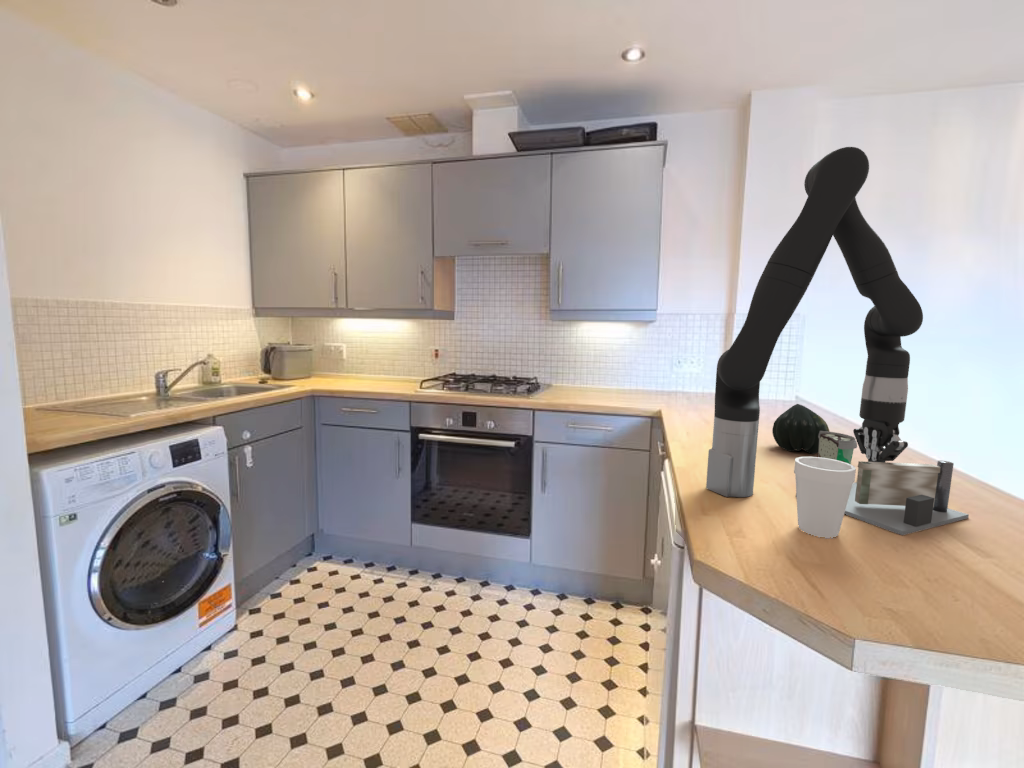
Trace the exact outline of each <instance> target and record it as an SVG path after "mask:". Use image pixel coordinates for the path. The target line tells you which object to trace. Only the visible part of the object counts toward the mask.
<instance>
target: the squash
mask: <svg viewBox="0 0 1024 768" xmlns="http://www.w3.org/2000/svg"><path fill="white" fill-rule="evenodd" d="M820 431H828V432H831V431H830V429H829V425H828V424H827V421H825V419H824V418H822V417H821V416H820V415H819V414H817V413H816V412H815V411H813V410H811V409H809V408H808V407H807V406H805V405H802V404H800V403H796V404H794V405H792V406H791V407H789V408H788V409H787V410H785V411H784V412H783V413H781V414H780V415H778V417H777V418H776V419H775V420H774V421H773V426H772V431H771V432H772V436H773V439H774V441H775V442H776V444H777V445H778V447H780V448H782V449H784V450H786V451H789V452H794V451H797V452H798V451H801V450H803V451H805V452H806V453H808V454H811V455H813V454H818V452H819V438H818V436H819V432H820Z"/></svg>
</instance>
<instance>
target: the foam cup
mask: <svg viewBox="0 0 1024 768" xmlns="http://www.w3.org/2000/svg"><path fill="white" fill-rule="evenodd" d="M856 470H857V468H856V466H855V465H853V464H852V463H851V464H849V463H845V462H842V461H838V460H834V459H828V458H821V457H817V456H799V457H795V459H794V470H793V473H794V477H795V497H796V510H797V511H796V512H797V513H796V514H797V526H798V525H799V526H798V527H799V528H800V529H801V530H802V531H804V532H806V533H808V534H807V535H809V534H811V535H810V536H812V535H814V536H813V537H815V536H818V537H817V538H820V537H825V538H824V539H834V538H833V537H836V536H838V537H839V534H840V530H841V527H842V524H843V521H844V520H843V519H844V516H845V514H844V513H845V509H846V506H847V502H848V499H849V495H850V492H851V488H852V484H853V483H856V481H855V480H856V473H857V472H856ZM799 528H798V529H799ZM800 529H799V530H800ZM801 530H800V531H801ZM802 531H801V532H802ZM804 532H803V533H804ZM806 533H805V534H806ZM830 537H831V538H830ZM836 538H837V537H836Z"/></svg>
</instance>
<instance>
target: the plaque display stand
mask: <svg viewBox="0 0 1024 768" xmlns="http://www.w3.org/2000/svg"><path fill="white" fill-rule="evenodd" d="M936 463H937V464H936V466H939V467H941V468H940V473H938V478H937V485H936V493H935V500H934V498H932V497H929V496H925V495H917V496H913V497H908V498H906V506H900V505H879V504H859V503H857V502H855V494H856V485H857V481H855V482H854V483H853V484H852V488H851V492H850V495H849V499H848V502H847V506H846V509H845V513H844V515H845V514H846V515H845V516H848V515H849V516H848V517H850V518H853V517H854V518H853V519H856V518H857V520H859V519H860V520H859V521H862V522H864V521H865V523H867V524H870V525H873V526H876V527H879V528H882V529H884V530H887V531H889V532H892V533H894V534H898V535H900V536H905V535H908V534H913V533H917V532H921V531H924V530H928V529H932V528H937V527H941V526H943V525H948V524H951V523H952V524H953V523H956V522H958V521H963V520H967V519H969V516H970V514H969V513H966V512H962V511H959V510H955V509H952V508H949V501H950V492H951V487H952V485H951V484H952V476H953V470H954V462H952V461H947V460H937V462H936ZM933 504H934V507H933Z"/></svg>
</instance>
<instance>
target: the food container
mask: <svg viewBox="0 0 1024 768" xmlns="http://www.w3.org/2000/svg"><path fill="white" fill-rule="evenodd" d="M818 438H819V452H818V453H817V455H818V457H821V458H828V459H834V460H838V461H842V462H845V463H849V464H851V465H852V458H853V456H854V450H855V449H857V448H858V443H857V440H856V438H855V436H852V435H848V434H845V433H840V432H835V431H830V432H828V431H820V432H819V436H818Z"/></svg>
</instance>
